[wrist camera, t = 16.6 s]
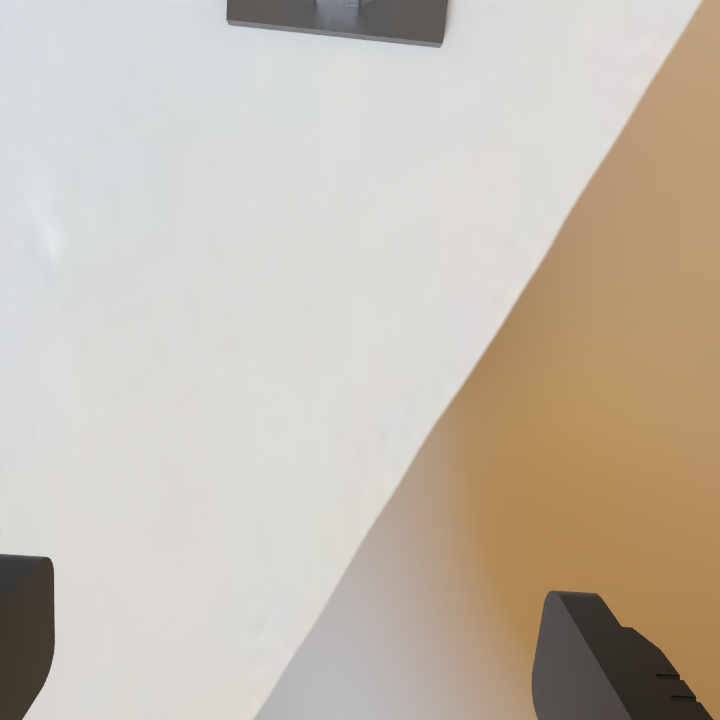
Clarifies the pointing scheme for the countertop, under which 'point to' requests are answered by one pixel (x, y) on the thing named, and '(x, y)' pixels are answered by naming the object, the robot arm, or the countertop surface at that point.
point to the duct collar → (347, 18)
